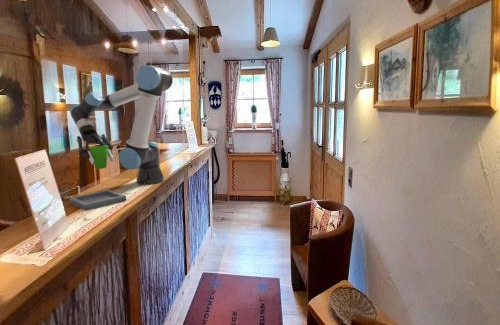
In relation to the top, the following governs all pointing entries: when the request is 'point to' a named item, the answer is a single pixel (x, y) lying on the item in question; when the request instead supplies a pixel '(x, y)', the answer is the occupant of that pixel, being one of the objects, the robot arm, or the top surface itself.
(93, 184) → the top surface
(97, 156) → the cup
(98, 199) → the tray
